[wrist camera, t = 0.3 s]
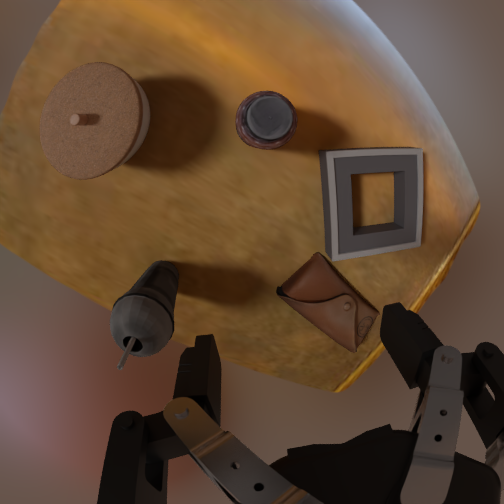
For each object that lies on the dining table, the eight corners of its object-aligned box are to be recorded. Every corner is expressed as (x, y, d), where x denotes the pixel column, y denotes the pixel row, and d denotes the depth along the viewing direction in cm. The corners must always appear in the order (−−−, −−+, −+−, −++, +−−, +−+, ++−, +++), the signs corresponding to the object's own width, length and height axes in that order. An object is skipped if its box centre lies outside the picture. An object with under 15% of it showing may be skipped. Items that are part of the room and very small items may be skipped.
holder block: (318, 150, 35) (326, 151, 32) (409, 146, 35) (422, 148, 32) (325, 251, 40) (332, 261, 37) (409, 238, 40) (420, 246, 37)
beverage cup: (136, 289, 41) (85, 388, 22) (142, 245, 38) (79, 333, 20) (183, 302, 42) (156, 410, 23) (193, 258, 39) (163, 359, 21)
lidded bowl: (64, 110, 30) (16, 108, 20) (140, 59, 29) (106, 34, 19) (99, 186, 35) (56, 205, 25) (178, 139, 33) (155, 140, 23)
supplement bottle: (293, 118, 33) (318, 111, 23) (266, 157, 35) (280, 164, 24) (252, 92, 32) (261, 72, 21) (226, 131, 33) (222, 127, 23)
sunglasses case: (384, 312, 45) (382, 347, 40) (351, 325, 50) (347, 357, 45) (315, 247, 40) (307, 284, 35) (282, 267, 45) (271, 302, 40)
